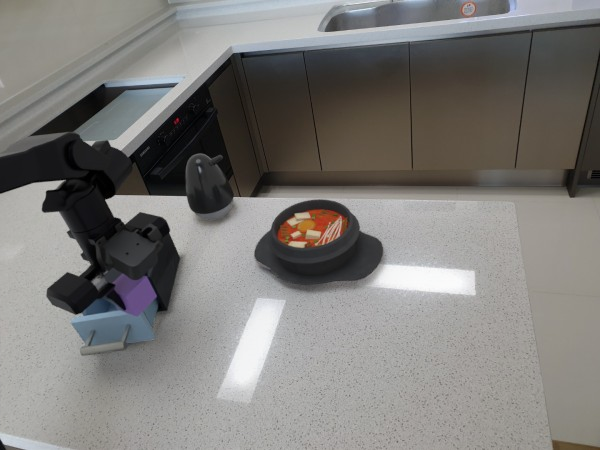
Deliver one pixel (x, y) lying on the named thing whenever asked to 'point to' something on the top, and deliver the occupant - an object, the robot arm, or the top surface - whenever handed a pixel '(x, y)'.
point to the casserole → (318, 245)
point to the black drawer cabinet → (159, 273)
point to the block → (134, 294)
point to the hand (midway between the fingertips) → (134, 298)
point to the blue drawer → (113, 327)
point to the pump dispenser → (207, 187)
